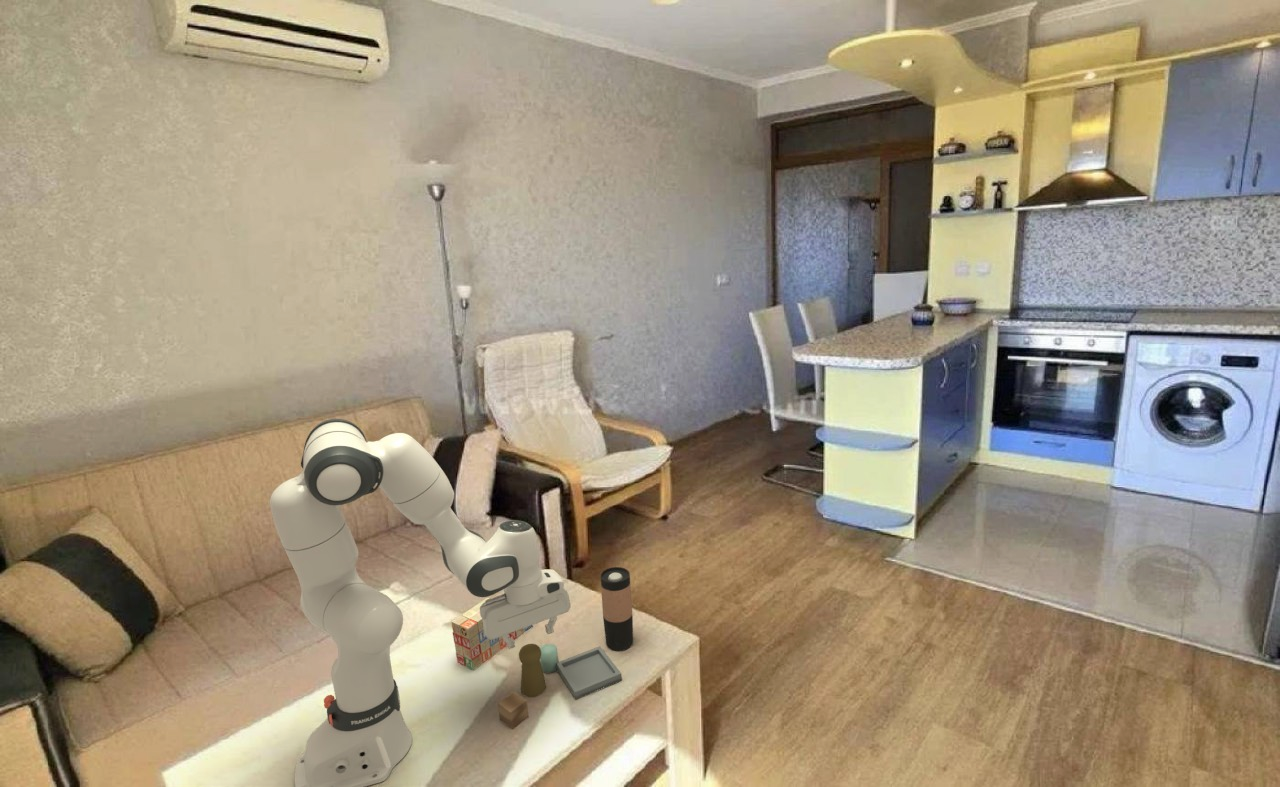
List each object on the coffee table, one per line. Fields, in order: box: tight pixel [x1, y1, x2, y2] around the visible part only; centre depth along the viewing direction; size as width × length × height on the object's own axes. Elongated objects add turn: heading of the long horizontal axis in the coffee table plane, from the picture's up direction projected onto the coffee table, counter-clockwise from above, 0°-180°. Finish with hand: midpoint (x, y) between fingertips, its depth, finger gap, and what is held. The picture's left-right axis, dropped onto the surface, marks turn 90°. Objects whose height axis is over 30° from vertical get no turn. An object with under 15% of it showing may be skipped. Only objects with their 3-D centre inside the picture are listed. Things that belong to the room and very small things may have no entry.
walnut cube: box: [497, 691, 529, 730], centre depth 138 cm, size 4×4×4 cm
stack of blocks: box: [451, 597, 533, 671], centre depth 163 cm, size 21×6×12 cm, turn 146°
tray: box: [556, 645, 623, 700], centre depth 151 cm, size 12×12×2 cm
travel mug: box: [600, 566, 634, 652], centre depth 160 cm, size 8×8×20 cm
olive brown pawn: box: [518, 643, 547, 698], centre depth 146 cm, size 6×6×11 cm
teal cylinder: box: [540, 643, 559, 674], centre depth 154 cm, size 4×4×5 cm
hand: (530, 639), depth 145 cm, fingers open, 8 cm apart
